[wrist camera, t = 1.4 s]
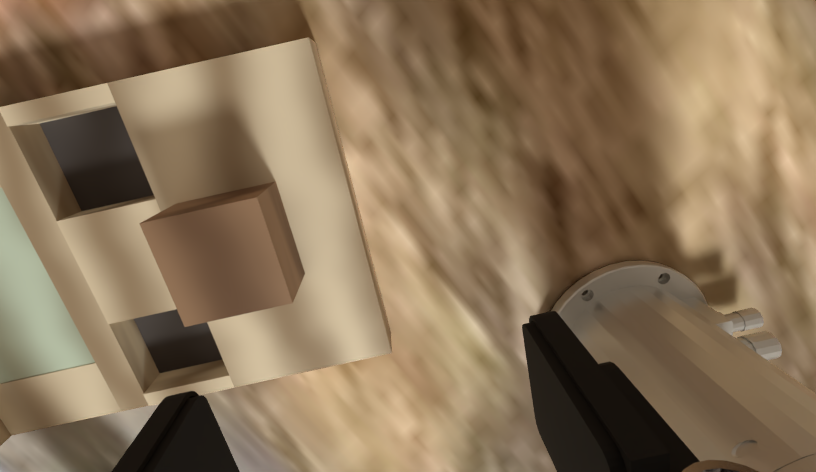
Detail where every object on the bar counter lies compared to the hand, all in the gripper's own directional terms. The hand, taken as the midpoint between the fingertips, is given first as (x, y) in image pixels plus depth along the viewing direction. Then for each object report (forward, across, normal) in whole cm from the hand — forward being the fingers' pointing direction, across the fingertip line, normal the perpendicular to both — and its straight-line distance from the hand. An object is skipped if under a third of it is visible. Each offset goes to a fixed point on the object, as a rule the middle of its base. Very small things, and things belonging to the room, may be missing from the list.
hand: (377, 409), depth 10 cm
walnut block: (+17, +8, 0) cm, 19 cm away
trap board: (+20, +16, 0) cm, 25 cm away
